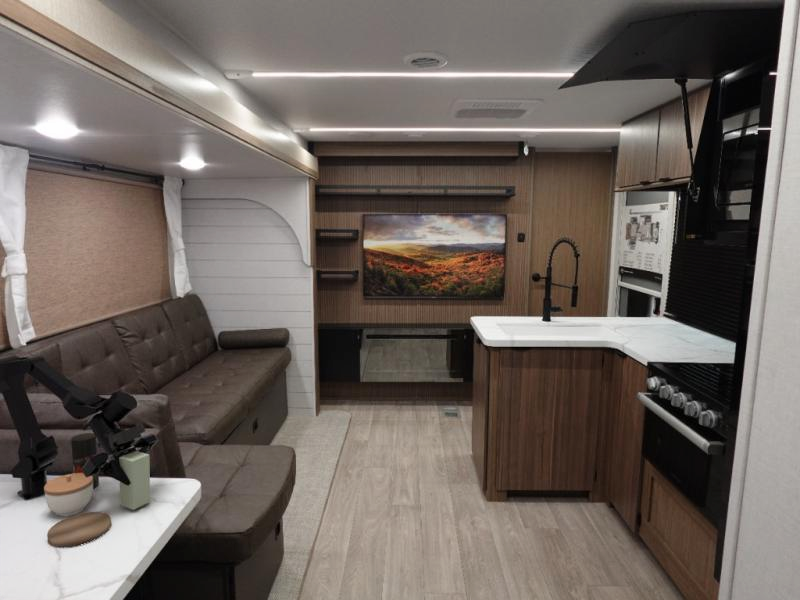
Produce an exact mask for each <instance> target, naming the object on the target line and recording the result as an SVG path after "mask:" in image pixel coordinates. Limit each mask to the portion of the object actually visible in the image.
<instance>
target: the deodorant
mask: <svg viewBox="0 0 800 600" xmlns="http://www.w3.org/2000/svg"><path fill="white" fill-rule="evenodd" d="M70 442H71V454H72V455H71V457H72V469H73V471H72V474H73V473H83V466H84V465H85V464H86V462H87V461H88V460H89V459H90V457H93V456H95V455H98V443H97V438H96V436H95V434H94V433H93V432H86V433H85V432H84V433H80V434H77V435H74V436H72V437H71V440H70ZM92 476H93V490H95V489H97V488H98V487H99V485H100V482H99V471H98V472H97V473H96V474H94V475H92Z"/></svg>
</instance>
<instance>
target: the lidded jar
mask: <svg viewBox="0 0 800 600" xmlns="http://www.w3.org/2000/svg"><path fill="white" fill-rule="evenodd" d="M93 490H94V489H93V476H89V477H85V475H84V473H73V472H72V473H68V474H65V475H61V476H57V477H55V478H53V479H51V480H50V481H47V484H46V485H45V486H44V492H45V494H44V498H45V502H46V504H47V507H48V508H49V510H50V511H52V512H53V513H54V514H58V515H57V516H59V515H61V516H60V517H67V516H66V515H69V516H73V515H76V514H79V513H80V512H82V511H83V510H84V509H85V507H86V506H87V505H88V504H89V502H90V501H91V499H92V496H93V492H94V491H93ZM82 509H83V510H82ZM81 510H82V511H81ZM79 511H80V512H79ZM75 513H76V514H75ZM72 514H73V515H72Z"/></svg>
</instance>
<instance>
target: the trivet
mask: <svg viewBox="0 0 800 600" xmlns="http://www.w3.org/2000/svg"><path fill="white" fill-rule="evenodd" d="M111 517H112V516H110V514H108V513H107V512H102V511H87V512H82V513H76V514H73V515H70V516H69V517H68V516H67V517H65V518H63V519H61V520H59V521H58V522H56V523H55V524H54V525H52V526H51V527H50V528H49V529H48V531H47V533H46V534H47V535H46V537H47V543H48V545H50V546H51V547H53V546H54V547H53V548H58V547H59V548H61V547H63V549H64V547H69V548H74V547H73V546H75V547H79V546H78V545H80V546H82V545H81V544H83V545H85V544H84V543H86V544H88V543H87V542H89V543H91V542H90V541H92V540H94V539H96V540H98V539H100V538H101V537H103V536H104V535H106V534H107V533H108V532H109V530H110V529H111V528H110V527H112V518H111ZM109 528H110V529H109ZM107 531H108V532H107ZM106 532H107V533H106ZM103 534H104V535H103ZM102 535H103V536H102ZM100 536H101V537H100ZM99 537H100V538H99ZM97 538H98V539H97ZM94 541H95V540H94ZM92 542H93V541H92ZM61 549H62V548H61Z"/></svg>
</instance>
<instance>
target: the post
mask: <svg viewBox="0 0 800 600" xmlns="http://www.w3.org/2000/svg"><path fill="white" fill-rule="evenodd" d="M119 462H120V466H121V467H122V469H123V471H124V472H125V474H126V475H127V477H128V478H129V480H130V485H128V486H127V485H125V484H123V483H122V482H120V481H119V494H120V495H119V497H120V502H119V503H120V506H122V507H125V508H127V509H130V510H133V511H134V510H136V509H137V508H140V507H142V506H144V505H145V504H146V505H147V504H149V503H150V502H151V482H150V481H151V477H150V474H151V472H150V471H151V470H150V466H151V465H150V464H151V463H150V454H148V453H146V454H145V453H142V452H138V451H135V452H133V453H130V454H127V455H125V456H122V457H119Z"/></svg>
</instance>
